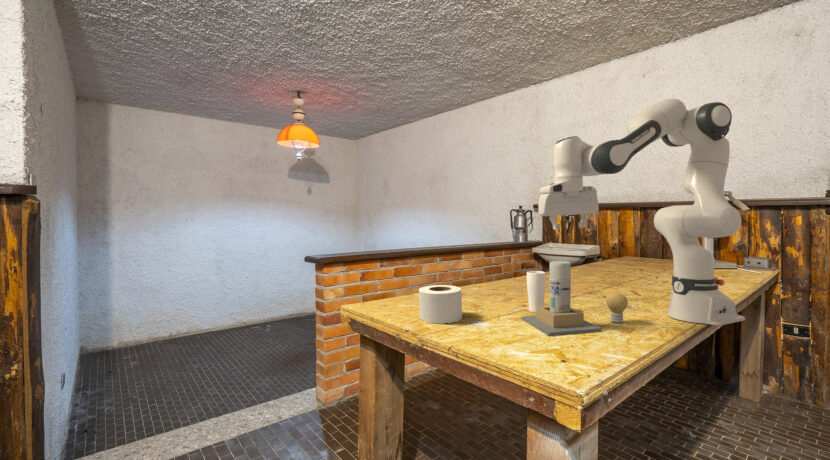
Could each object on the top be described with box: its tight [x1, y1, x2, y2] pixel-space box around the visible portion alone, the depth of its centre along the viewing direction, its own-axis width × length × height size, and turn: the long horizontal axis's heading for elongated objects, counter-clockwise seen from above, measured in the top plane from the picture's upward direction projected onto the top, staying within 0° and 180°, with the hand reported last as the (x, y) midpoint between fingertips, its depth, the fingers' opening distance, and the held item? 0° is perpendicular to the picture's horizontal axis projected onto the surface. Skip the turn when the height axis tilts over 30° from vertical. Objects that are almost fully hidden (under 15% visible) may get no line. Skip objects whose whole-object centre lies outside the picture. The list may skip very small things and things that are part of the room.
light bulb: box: [605, 292, 629, 324], centre depth 123 cm, size 6×6×10 cm
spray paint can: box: [548, 260, 572, 314], centre depth 121 cm, size 6×6×20 cm
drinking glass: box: [526, 270, 546, 314], centre depth 138 cm, size 7×7×15 cm
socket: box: [520, 305, 603, 337], centre depth 121 cm, size 18×18×5 cm
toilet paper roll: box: [418, 284, 463, 325], centre depth 132 cm, size 16×15×11 cm
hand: (569, 228), depth 121 cm, fingers open, 8 cm apart
